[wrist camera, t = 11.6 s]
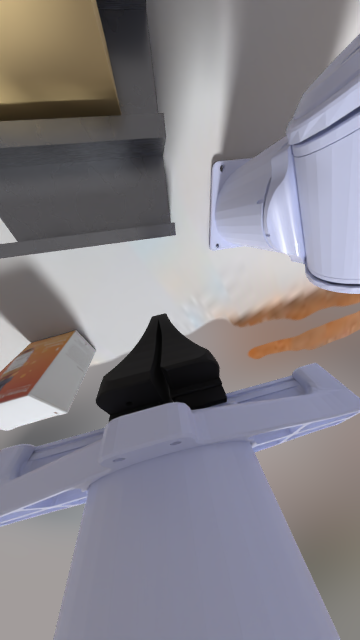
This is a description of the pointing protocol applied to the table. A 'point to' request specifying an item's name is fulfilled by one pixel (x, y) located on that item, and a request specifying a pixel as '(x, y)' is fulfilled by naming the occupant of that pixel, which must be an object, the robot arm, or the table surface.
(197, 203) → the table surface
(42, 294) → the table surface
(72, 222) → the rack
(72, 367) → the small box
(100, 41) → the tan rectangular block
